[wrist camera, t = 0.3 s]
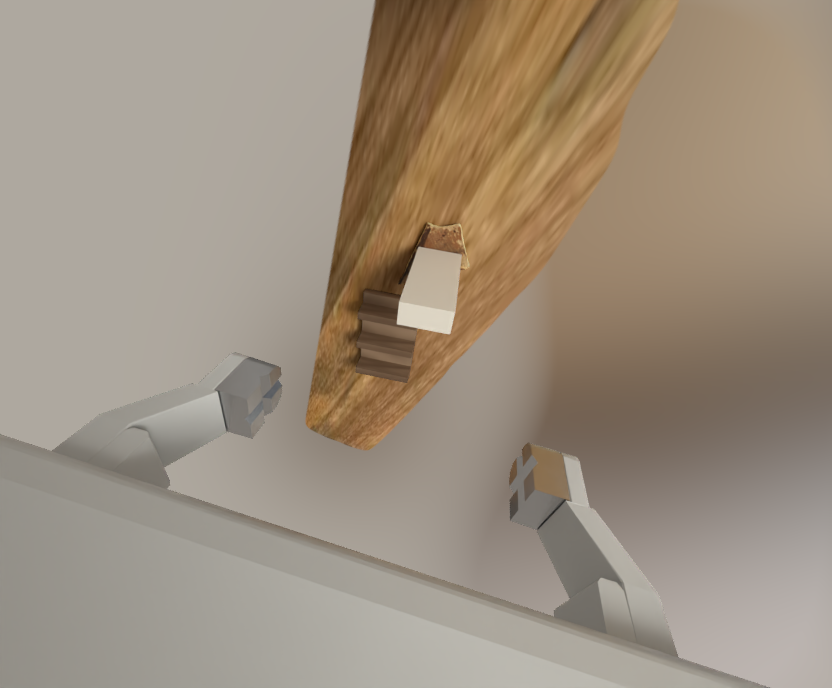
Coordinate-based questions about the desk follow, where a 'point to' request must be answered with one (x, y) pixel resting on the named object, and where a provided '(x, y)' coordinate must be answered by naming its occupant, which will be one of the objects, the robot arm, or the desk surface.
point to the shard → (440, 244)
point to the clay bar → (431, 291)
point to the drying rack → (384, 338)
